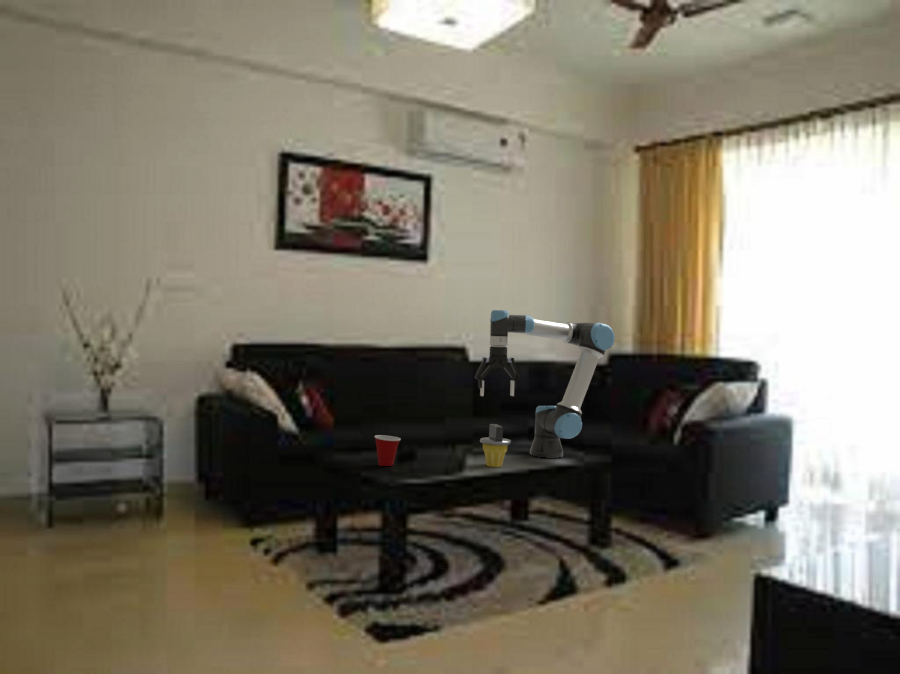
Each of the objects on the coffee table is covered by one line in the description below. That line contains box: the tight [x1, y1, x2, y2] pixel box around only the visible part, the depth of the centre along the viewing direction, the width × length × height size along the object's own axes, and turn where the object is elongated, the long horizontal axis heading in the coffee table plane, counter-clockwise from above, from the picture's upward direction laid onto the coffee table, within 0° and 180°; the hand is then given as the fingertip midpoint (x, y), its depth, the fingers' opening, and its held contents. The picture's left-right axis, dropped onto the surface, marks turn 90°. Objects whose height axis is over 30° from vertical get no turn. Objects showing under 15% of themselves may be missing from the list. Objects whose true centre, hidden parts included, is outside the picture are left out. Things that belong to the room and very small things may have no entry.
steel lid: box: [479, 423, 512, 446], centre depth 338 cm, size 13×13×7 cm
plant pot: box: [482, 443, 509, 468], centre depth 338 cm, size 10×10×10 cm
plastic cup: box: [374, 434, 402, 467], centre depth 326 cm, size 11×11×12 cm
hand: (497, 395), depth 343 cm, fingers open, 13 cm apart
